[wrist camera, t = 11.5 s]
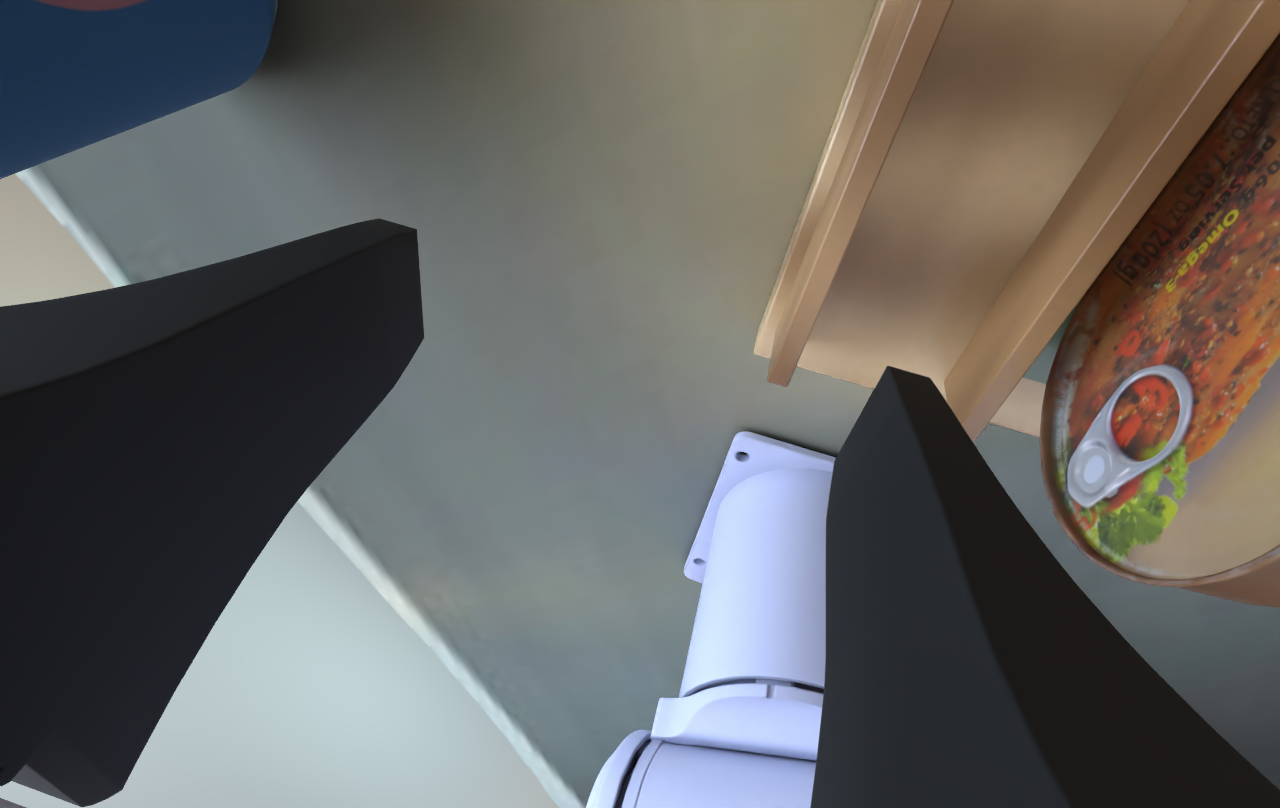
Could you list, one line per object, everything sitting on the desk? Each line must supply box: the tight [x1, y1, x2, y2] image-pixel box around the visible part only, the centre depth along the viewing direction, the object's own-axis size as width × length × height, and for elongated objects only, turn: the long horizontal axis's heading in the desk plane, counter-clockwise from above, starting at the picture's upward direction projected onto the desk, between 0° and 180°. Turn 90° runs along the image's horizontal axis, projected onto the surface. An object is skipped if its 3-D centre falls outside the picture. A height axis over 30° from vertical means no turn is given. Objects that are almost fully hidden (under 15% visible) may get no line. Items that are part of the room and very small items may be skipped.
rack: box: [754, 0, 1280, 442], centre depth 13 cm, size 18×17×4 cm
